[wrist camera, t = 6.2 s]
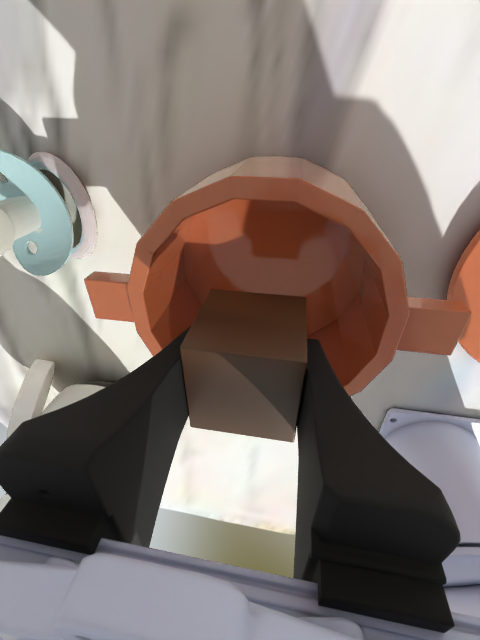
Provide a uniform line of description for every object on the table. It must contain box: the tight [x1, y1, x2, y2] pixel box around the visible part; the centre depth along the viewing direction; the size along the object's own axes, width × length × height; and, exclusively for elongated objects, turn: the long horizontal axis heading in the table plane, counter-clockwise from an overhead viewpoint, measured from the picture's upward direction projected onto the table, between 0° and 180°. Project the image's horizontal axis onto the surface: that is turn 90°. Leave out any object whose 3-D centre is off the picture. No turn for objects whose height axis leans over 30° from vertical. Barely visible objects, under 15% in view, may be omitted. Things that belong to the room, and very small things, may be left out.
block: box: [180, 289, 307, 442], centre depth 12 cm, size 4×4×4 cm
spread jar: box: [0, 359, 113, 512], centre depth 25 cm, size 12×11×12 cm
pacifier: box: [0, 149, 97, 276], centre depth 17 cm, size 7×6×6 cm
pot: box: [84, 156, 472, 396], centre depth 17 cm, size 13×18×6 cm
